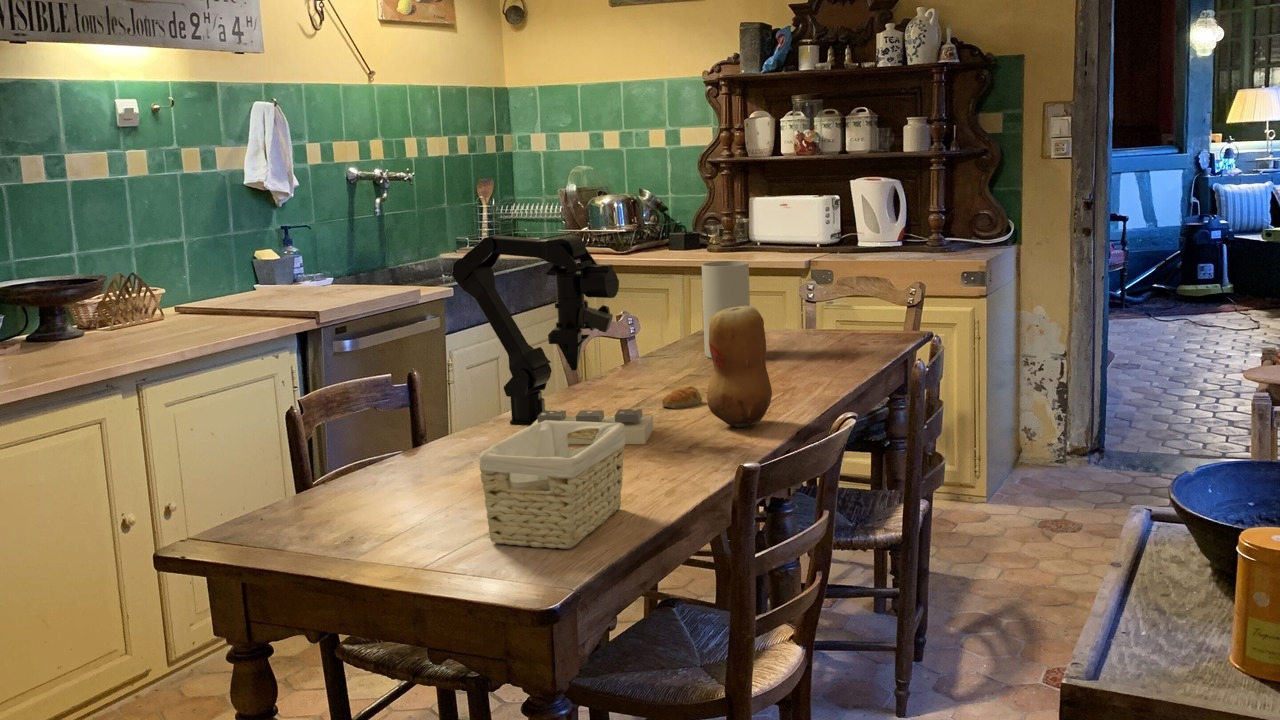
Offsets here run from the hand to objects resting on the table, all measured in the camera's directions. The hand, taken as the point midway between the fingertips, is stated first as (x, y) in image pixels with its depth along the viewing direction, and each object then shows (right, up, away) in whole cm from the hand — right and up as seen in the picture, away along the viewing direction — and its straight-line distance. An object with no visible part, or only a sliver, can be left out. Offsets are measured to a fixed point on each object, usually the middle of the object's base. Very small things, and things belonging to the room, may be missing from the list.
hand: (574, 370), depth 257 cm
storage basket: (+1, -25, -63) cm, 67 cm away
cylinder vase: (+38, +3, +72) cm, 81 cm away
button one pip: (+4, -10, -9) cm, 14 cm away
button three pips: (-4, -10, -8) cm, 13 cm away
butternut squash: (+35, -12, -5) cm, 37 cm away
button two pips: (+12, -10, -10) cm, 18 cm away
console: (+4, -14, -8) cm, 16 cm away
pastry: (+23, -8, +17) cm, 30 cm away
